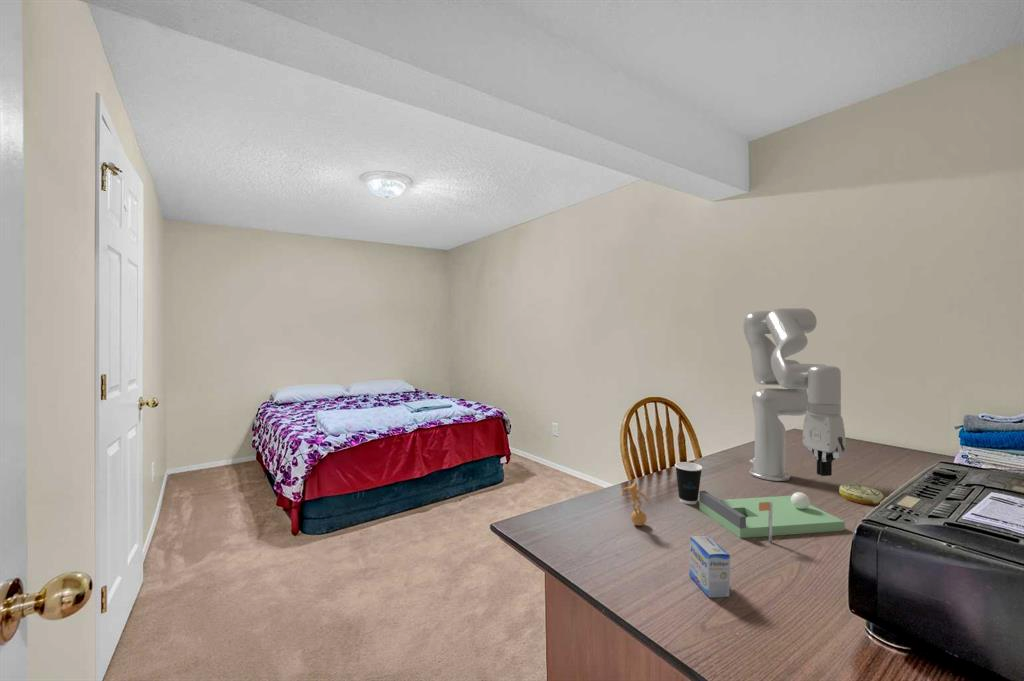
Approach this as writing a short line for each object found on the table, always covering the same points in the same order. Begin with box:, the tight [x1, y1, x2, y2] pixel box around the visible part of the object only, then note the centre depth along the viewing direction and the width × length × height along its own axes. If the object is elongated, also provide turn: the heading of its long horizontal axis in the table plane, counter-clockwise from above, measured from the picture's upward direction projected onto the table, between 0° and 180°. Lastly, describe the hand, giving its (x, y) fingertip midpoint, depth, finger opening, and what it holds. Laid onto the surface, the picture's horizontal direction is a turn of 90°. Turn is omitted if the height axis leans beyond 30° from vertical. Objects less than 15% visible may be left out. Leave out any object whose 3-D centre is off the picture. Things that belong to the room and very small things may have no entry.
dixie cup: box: [674, 461, 703, 505], centre depth 133 cm, size 8×8×11 cm
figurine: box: [621, 482, 651, 527], centre depth 116 cm, size 8×6×12 cm
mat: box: [698, 490, 846, 539], centre depth 120 cm, size 18×30×5 cm, turn 98°
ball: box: [790, 491, 811, 509], centre depth 121 cm, size 4×4×4 cm
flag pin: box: [759, 501, 773, 544], centre depth 107 cm, size 1×4×10 cm, turn 99°
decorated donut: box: [838, 483, 884, 506], centre depth 134 cm, size 10×11×4 cm
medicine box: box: [688, 535, 731, 599], centre depth 88 cm, size 8×4×9 cm, turn 5°
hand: (824, 474), depth 121 cm, fingers closed
